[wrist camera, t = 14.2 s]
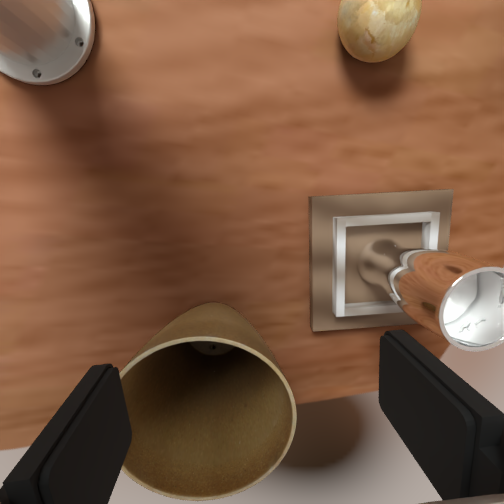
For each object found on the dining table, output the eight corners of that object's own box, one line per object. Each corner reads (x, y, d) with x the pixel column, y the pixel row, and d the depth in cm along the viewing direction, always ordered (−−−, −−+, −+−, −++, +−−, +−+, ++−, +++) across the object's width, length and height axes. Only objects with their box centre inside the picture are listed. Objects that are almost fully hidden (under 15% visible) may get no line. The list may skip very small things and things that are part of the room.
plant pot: (152, 373, 38) (95, 496, 23) (164, 266, 36) (108, 325, 20) (261, 385, 40) (278, 510, 24) (281, 283, 37) (314, 350, 21)
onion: (414, 19, 32) (464, -30, 25) (373, 86, 33) (410, 58, 26) (356, -27, 30) (391, -92, 23) (315, 45, 32) (337, 3, 25)
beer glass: (420, 256, 35) (549, 301, 21) (382, 299, 36) (480, 371, 22) (380, 222, 34) (487, 244, 20) (341, 266, 35) (417, 319, 21)
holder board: (308, 196, 35) (315, 197, 32) (444, 189, 35) (463, 189, 33) (310, 326, 38) (316, 337, 35) (433, 317, 39) (449, 327, 36)
